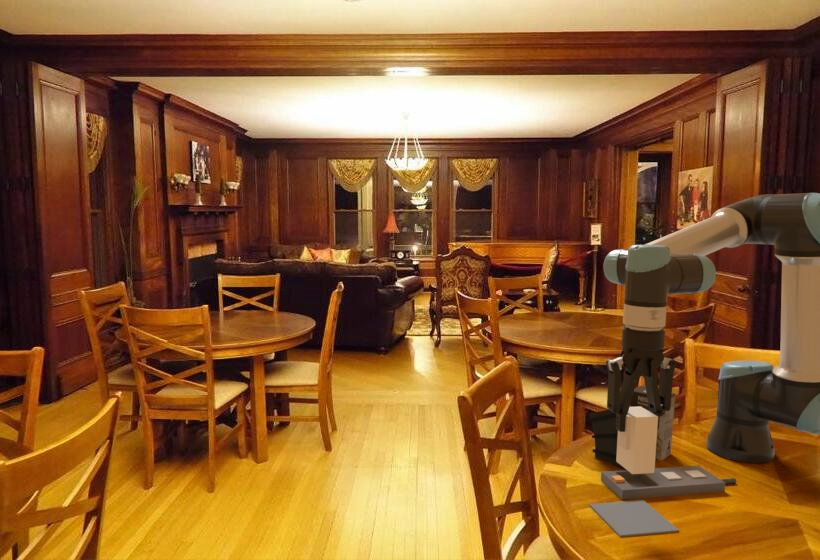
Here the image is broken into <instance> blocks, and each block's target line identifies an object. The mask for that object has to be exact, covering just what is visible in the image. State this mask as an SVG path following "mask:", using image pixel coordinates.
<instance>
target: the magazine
mask: <svg viewBox="0 0 820 560" xmlns="http://www.w3.org/2000/svg"><path fill="white" fill-rule="evenodd" d="M588 416H589V418H587V421H588V423H591V426H592V430H593V435H591V439H594V448H593V449H592V453H594V457H595V458H597V459H599V460H602V461H603V462H606V463H609V464H610V465H613V466H616V467H617V468H620V469H622V470H626V469H625V468H624V467H623V466H621V465H620V464H619V463H618V462H616V455H617V439H618V430H617V429H616V413H614V412H612V411H611V410H609V409H608V408H607V409H604V410H600V411H596V412H591V413H588Z"/></svg>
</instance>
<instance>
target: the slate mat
mask: <svg viewBox="0 0 820 560" xmlns="http://www.w3.org/2000/svg"><path fill="white" fill-rule="evenodd" d="M589 508H591V509H592V510H593V512H595V513H596V514H597V515H598V516H599V518H600V519H602V521H603V522H605V524H606V525H607V526H608V527H610V528H611V530H612V531H613V532H614V533H615V534H616V535H617V536H618V537H619V538H625V537H636V536H647V535H658V534H659V535H660V534H670V533H671V534H672V533H679V532H680V530H679V528H677V527H676V526H675V525H674V524H673V523H671V522H670V521H669V520H668V519H667V518H665V517H664V516H663V515H662V514H661V513H660V512H658V511H657V510H656V509H655V508H654V507H653V506H651V505H650V503H647V501H645V500H644V499H639V500H628V501H626V500H625V501H614V502H613V501H612V502H602V503H601V502H600V503H589Z"/></svg>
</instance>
